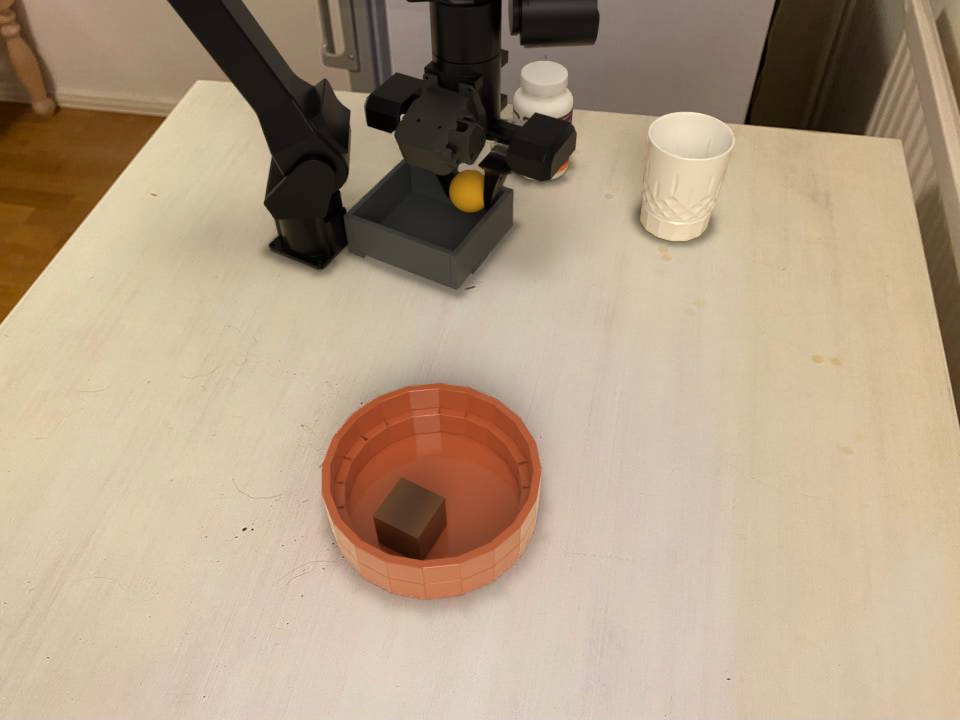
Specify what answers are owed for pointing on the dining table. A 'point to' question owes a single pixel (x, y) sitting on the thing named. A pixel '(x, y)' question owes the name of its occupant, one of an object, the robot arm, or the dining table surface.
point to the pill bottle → (544, 95)
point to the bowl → (435, 486)
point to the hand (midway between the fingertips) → (469, 201)
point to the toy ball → (467, 191)
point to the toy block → (410, 519)
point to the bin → (425, 226)
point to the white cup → (683, 173)
